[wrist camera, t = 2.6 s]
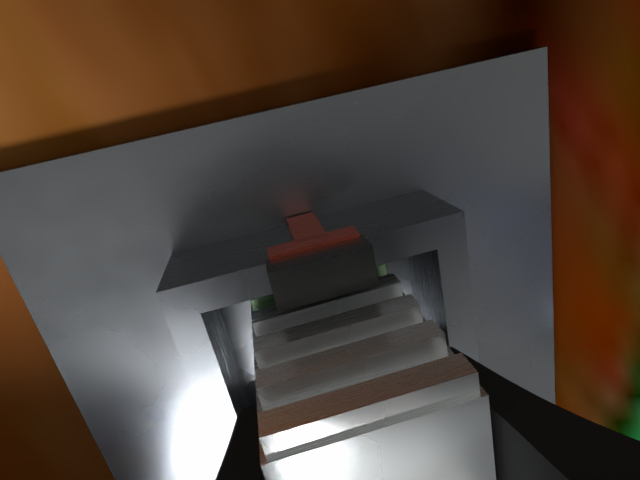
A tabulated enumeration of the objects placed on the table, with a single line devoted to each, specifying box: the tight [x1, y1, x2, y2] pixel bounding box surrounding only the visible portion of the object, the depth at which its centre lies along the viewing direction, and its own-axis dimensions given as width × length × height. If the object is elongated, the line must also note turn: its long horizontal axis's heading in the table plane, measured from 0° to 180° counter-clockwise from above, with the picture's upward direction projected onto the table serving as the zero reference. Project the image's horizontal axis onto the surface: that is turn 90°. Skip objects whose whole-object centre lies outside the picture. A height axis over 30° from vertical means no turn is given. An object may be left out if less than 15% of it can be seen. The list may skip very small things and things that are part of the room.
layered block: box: [250, 263, 496, 480], centre depth 11 cm, size 4×4×6 cm
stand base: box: [0, 47, 555, 480], centre depth 13 cm, size 16×14×4 cm
